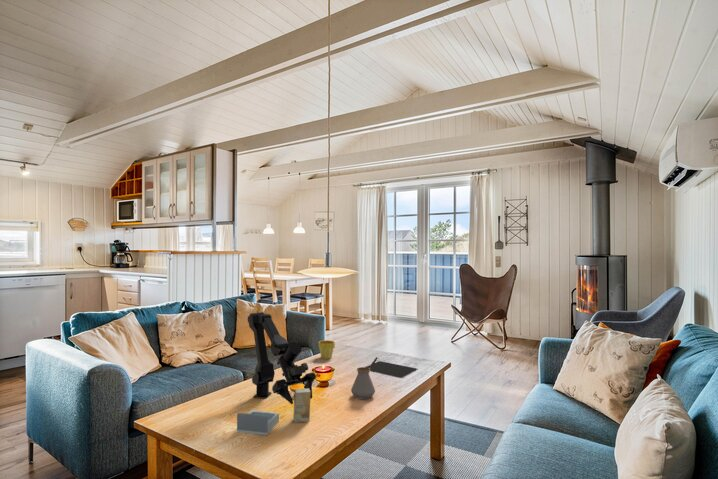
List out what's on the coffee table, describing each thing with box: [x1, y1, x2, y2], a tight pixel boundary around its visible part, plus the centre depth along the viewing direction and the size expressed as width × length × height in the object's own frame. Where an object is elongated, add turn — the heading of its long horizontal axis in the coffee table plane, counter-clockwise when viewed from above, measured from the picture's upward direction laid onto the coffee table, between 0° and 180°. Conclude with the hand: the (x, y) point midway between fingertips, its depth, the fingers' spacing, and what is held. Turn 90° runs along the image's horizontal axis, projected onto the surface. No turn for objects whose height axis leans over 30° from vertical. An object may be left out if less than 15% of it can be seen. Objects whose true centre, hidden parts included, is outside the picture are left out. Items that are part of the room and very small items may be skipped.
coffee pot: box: [350, 357, 380, 400], centre depth 195 cm, size 21×12×15 cm, turn 152°
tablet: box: [365, 360, 419, 379], centre depth 233 cm, size 27×1×20 cm
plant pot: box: [318, 339, 336, 360], centre depth 255 cm, size 10×10×10 cm
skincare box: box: [293, 388, 311, 424], centre depth 164 cm, size 6×4×12 cm
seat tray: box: [236, 409, 280, 436], centre depth 157 cm, size 12×12×7 cm
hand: (302, 400), depth 164 cm, fingers open, 9 cm apart
